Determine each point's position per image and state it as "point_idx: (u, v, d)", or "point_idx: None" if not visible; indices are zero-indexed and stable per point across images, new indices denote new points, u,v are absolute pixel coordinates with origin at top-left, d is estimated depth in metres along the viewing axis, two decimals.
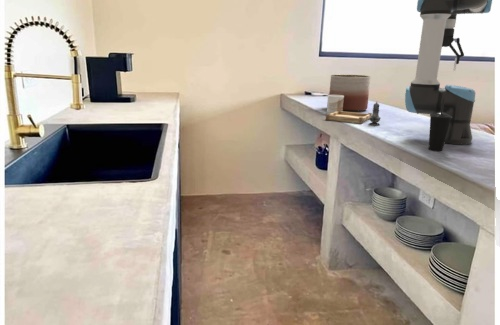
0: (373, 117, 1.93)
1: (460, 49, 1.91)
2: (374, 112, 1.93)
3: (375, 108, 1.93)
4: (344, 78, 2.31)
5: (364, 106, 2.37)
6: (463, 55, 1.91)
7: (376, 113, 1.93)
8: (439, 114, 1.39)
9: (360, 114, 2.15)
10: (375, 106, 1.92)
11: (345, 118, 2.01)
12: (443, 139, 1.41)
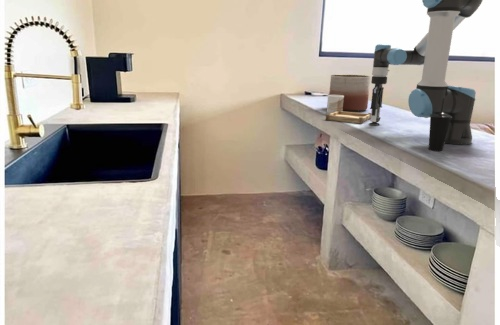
0: None
1: None
2: None
3: None
4: (344, 78, 2.31)
5: (364, 106, 2.37)
6: None
7: None
8: (439, 114, 1.39)
9: (360, 114, 2.15)
10: None
11: (345, 118, 2.01)
12: (443, 139, 1.41)
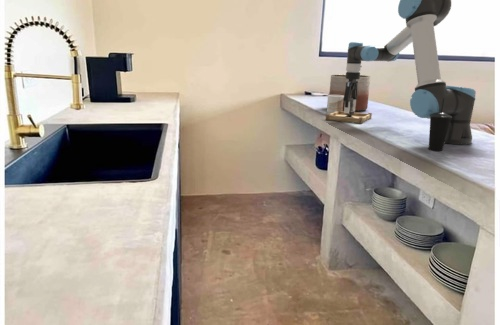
0: None
1: None
2: None
3: None
4: (344, 78, 2.31)
5: (364, 106, 2.37)
6: None
7: (350, 107, 2.07)
8: (439, 114, 1.39)
9: (360, 114, 2.15)
10: None
11: (345, 118, 2.01)
12: (443, 139, 1.41)
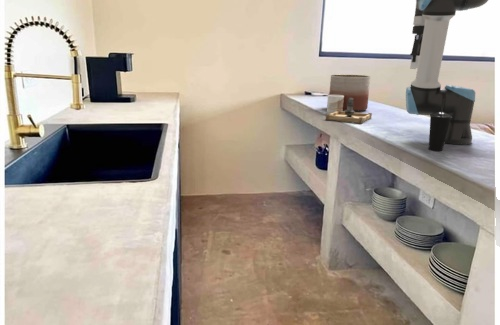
0: (347, 111, 2.07)
1: None
2: (348, 106, 2.07)
3: (349, 102, 2.06)
4: (344, 78, 2.31)
5: (364, 106, 2.37)
6: (411, 53, 1.84)
7: (350, 107, 2.07)
8: (439, 114, 1.39)
9: (360, 114, 2.15)
10: (349, 100, 2.06)
11: (345, 118, 2.01)
12: (443, 139, 1.41)
